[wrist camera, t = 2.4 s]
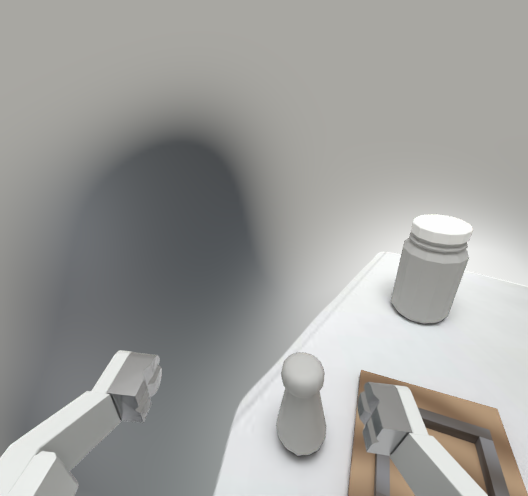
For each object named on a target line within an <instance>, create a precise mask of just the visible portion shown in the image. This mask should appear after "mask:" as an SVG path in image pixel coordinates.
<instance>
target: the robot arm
mask: <svg viewBox="0 0 528 496" xmlns="http://www.w3.org/2000/svg"><path fill="white" fill-rule="evenodd" d="M159 362H160V359H159V356H158V355H151V354H142V353H135V352H128V351H118V352H117V353H116V354H115V355H114V357H113V358H112V360H111V361H110V363H109V364H108V366H107V367H106V369H105V370H104V372H103V374H102V375H101V377H100V378H99V380H98V381H97V383H96V385H95V386H94V388H93V389H92V391H91V392H90V391H87V392H85V393H84V394H82V395H81V396H79V397H78V398H77V399H75V400H74V401H72V402H71V403H69V404H68V405H67V406H65V407H64V408H62V409H61V410H59V411H58V412H57V413H55V414H54V415H52V416H51V417H50V418H48V419H47V420H45V421H44V422H42V423H41V424H39V425H38V426H37V427H36V428H34V429H32V430H31V431H30V432H28V433H27V434H25V435H24V436H22V437H21V438H19V439H18V440H17V441H15V442H14V443H12V444H11V445H10V446H9V447H8V449H7V450H6V451H5V452H4V454H3V455H2V457H1V458H0V496H74V495H75V493H76V491H77V489H78V481H77V480H76V479H75V478H74V476H73V475H72V474H71V473H70V471H71V470H72V469H73V468H74V467H75V466H76V465H77V464H78V463H79V462H80V461H81V460H82V459H83V458H84V457H85V456H86V455H87V454H88V453H89V452H90V451H91V450H92V449H93V448H94V447H96V446H97V445H98V444H99V443H100V442H101V441H102V440H103V439H104V438H105V437H106V436H107V435H108V434H109V433H110V432H111V431H112V430H113V429H114V428H115V427H116V426H117V425H118V424H119V423H120V422H121V421H131V422H141V423H143V422H144V421H145V418H146V416H147V413H148V411H149V409H150V407H151V400H150V397H152V396H153V395H154V394H155V393H156V392H157V390H158V387H159V385H160V381H161V377H162V369H161V367H160V366H159V365H158V364H159ZM364 390H365V391H363V392H361V393H360V395H359V397H358V414H359V419H360V420H361V421H362V423H363V424H364V425H365V427H364V429H363V431H362V433H363V438H364V442H365V447H366V451H367V452H369V453H375V454H381V455H388V456H390V458H391V460H392V461H393V463H394V464H395V466H396V467H397V469H398V471H399V472H400V474H401V475H402V477H403V478H404V480H405V481H406V483H407V484H408V486H409V487H410V489H411V490H412V492H413V493H414V495H415V496H488V495H487V494H486V493H485V492H484V491H483V490H482V489H481V487H480V486H479V485H478V484H477V483H476V482H475V481H474V480H473V479H472V478H471V477H470V476H469V474H468V473H467V472H466V471H465V470H464V469H463V468H462V467H461V466H460V465H459V464H458V463H457V461H456V460H455V459H454V458H453V457H452V456H451V455H450V454H449V453H448V452H447V451H446V450H445V449H444V447H443V446H442V445H441V444H440V443H439V442H438V441H437V440H436V439H435V438H434V437H433V436H430V435H428V432H427V430H426V427H425V425H424V422H423V420H422V417H421V415H420V412H419V410H418V407H417V405H416V402H415V400H414V397H413V395H412V393H411V390H410V389H409V388H408V387H406V386H399V385H393V384H383V383H374V382H367V383H365V385H364ZM120 420H121V421H120Z"/></svg>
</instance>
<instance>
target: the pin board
mask: <svg viewBox="0 0 528 496" xmlns="http://www.w3.org/2000/svg"><path fill="white" fill-rule="evenodd" d="M367 382H374V383H383V384H393V385H399V386H406V387H408V388H409V389H410V390H411V393H412V395H413V397H414V400H415V402H416V405H417V407H418V410H419V412H420V415H421V417H422V420H423V422H424V425H425V427H426V430H427V432H428V435H430V436H433V437H434V438H435V439H436V440H437V441H438V442H439V443H440V444H441V445H442V446H443V447H444V449H445V450H446V451H447V452H448V453H449V454H450V455H451V456H452V457H453V458H454V459H455V460H456V461H457V463H458V464H459V465H460V466H461V467H462V468H463V469H464V470H465V471H466V472H467V473H468V474H469V476H470V477H471V478H472V479H473V480H474V481H475V482H476V483H477V484H478V485H479V486H480V487H481V489H482V490H483V491H484V492H485V493H486V494H487V495H488V496H528V494H527V491H526V488H525V486H524V483H523V480H522V477H521V474H520V472H519V469H518V466H517V463H516V460H515V458H514V455H513V452H512V449H511V446H510V443H509V441H508V438H507V435H506V432H505V429H504V427H503V424H502V421H501V418H500V415H499V413H498V410H497V409H496V408H492V407H489V406H485V405H482V404H478V403H475V402H471V401H468V400H464V399H461V398H457V397H454V396H450V395H447V394H444V393H440V392H437V391H433V390H430V389H426V388H423V387H419V386H416V385H412V384H409V383H405V382H402V381H398V380H395V379H391V378H388V377H384V376H381V375H377V374H374V373H370V372H367V371H363V370H361V373H360V380H359V390H358V397H359V395H360V393H361V392H363V391H365V390H364V385H365V383H367ZM364 427H365V425H364V424H363V423H362V421H361V420H360V419H359V414H358V400H357V410H356V419H355V429H354V439H353V449H352V459H351V469H350V478H349V488H348V496H415V495H414V493H413V492H412V490H411V489H410V487H409V486H408V484H407V483H406V481H405V480H404V478H403V477H402V475H401V474H400V472H399V471H398V469H397V467H396V466H395V464H394V463H393V461H392V460H391V458H390V456H388V455H381V454H375V453H369V452H367V451H366V447H365V442H364V438H363V433H362V431H363V429H364Z"/></svg>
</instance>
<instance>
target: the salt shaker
mask: <svg viewBox="0 0 528 496" xmlns="http://www.w3.org/2000/svg"><path fill="white" fill-rule="evenodd" d="M281 375H282V380H283V384H284V387H285V391H284V395H283V399H282V403H281V406H280V410H279V414H278V419H277V423H276V426H277V431H278V436H279V439H280V441H281V442H282V443H283V445H284V446H285V448H286V449H288V450H289V451H291V452H293V453H295V454H296V455H297V456H301V455H310V454H312V453H313V452H315V451H317V450H319V448H320V446H321V445H322V443H323V441H324V439H325V434H326V422H325V417H324V412H323V407H322V402H321V397H320V392H319V391H320V389H321V388H322V387H323V382H324V369H323V367H322V364H321V362H320V361H319V360H318V359H317V358H316V357H315V356H313V355H311V354H308V353H295V354H292V355H290V356H289V357H288V358H287V359H286V360H285V361H284V364H283V368H282V372H281Z"/></svg>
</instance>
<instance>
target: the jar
mask: <svg viewBox="0 0 528 496" xmlns="http://www.w3.org/2000/svg"><path fill="white" fill-rule="evenodd" d="M472 232H473V229H472V226H471V225H470V224H468V223H467V222H465V221H463V220H461V219H457V218H454V217H450V216H444V215H435V214H433V215H421V216H418V217H416V218H414V221H413V225H412V230H411V233H410V237H409V238H408V239H407V240H405V241H404V245H403V250H402V254H401V258H400V263H399V267H398V272H397V276H396V280H395V285H394V289H393V294H392V298H391V302H392V304H393V305H394V307H395V308H396V310H397V311H398V312H399V314H401V315H402V316H404V317H406V318H407V319H409V320H411V321H415V322H418V323H422V324H427V323H437V322H440V321H441V320H443V319H444V318H446V317H447V316H448V314H449V311H450V308H451V306H452V303H453V300H454V297H455V295H456V292H457V289H458V287H459V284H460V281H461V278H462V276H463V273H464V270H465V267H466V265H467V261H468V259H469V257H468V252H467V250H466V248H467V247H468V246H467V241H469V240H470V237H471V235H472Z"/></svg>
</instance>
